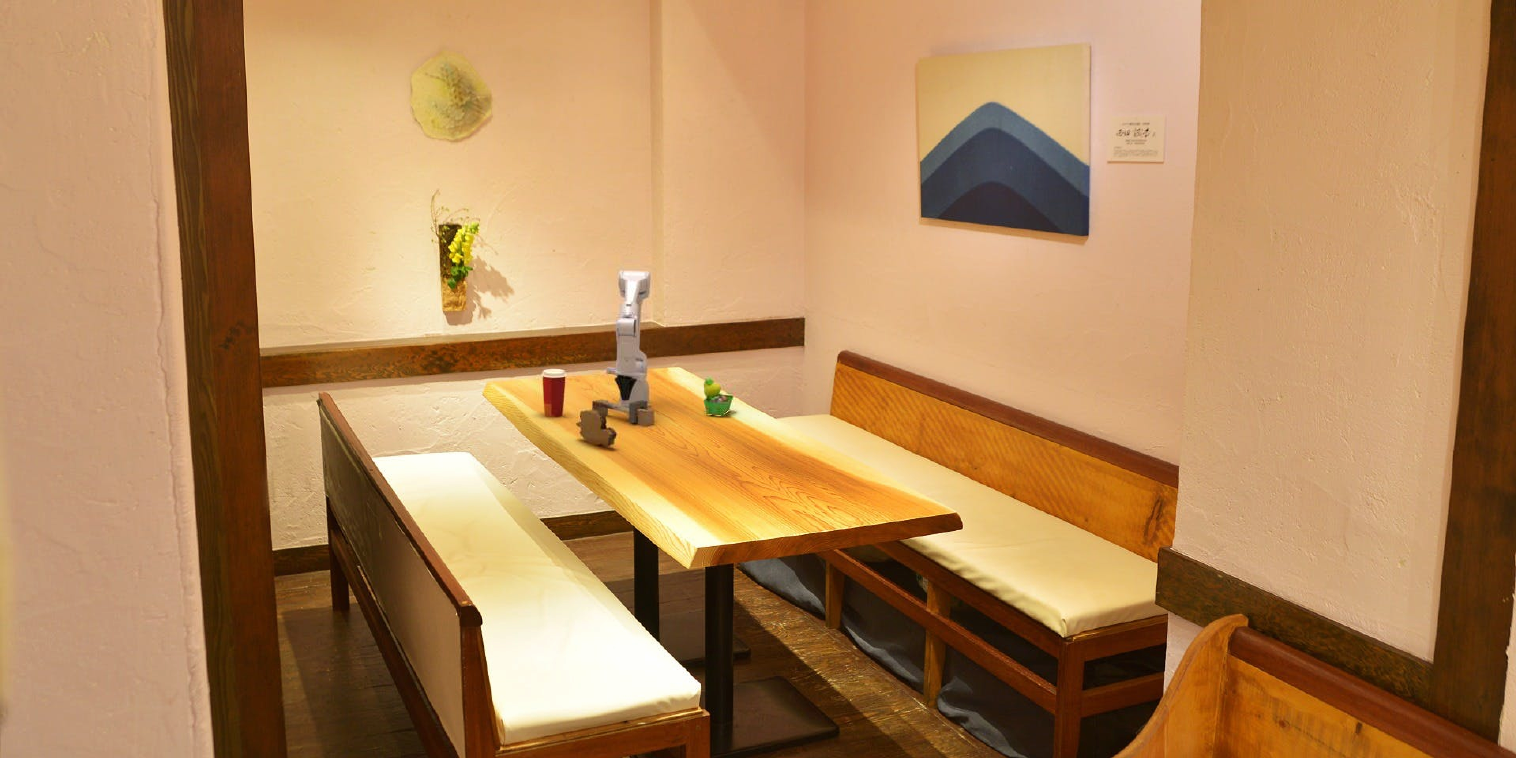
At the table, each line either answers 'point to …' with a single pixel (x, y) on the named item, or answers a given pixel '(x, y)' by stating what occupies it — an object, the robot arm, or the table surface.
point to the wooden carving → (596, 428)
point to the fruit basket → (715, 399)
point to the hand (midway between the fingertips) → (625, 399)
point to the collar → (633, 410)
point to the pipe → (643, 415)
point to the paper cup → (553, 392)
